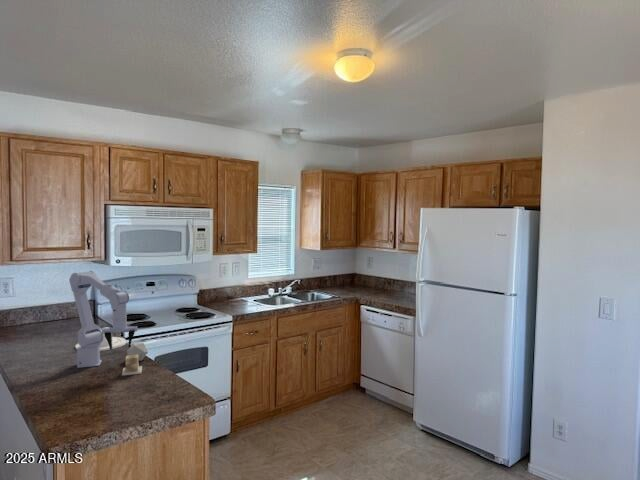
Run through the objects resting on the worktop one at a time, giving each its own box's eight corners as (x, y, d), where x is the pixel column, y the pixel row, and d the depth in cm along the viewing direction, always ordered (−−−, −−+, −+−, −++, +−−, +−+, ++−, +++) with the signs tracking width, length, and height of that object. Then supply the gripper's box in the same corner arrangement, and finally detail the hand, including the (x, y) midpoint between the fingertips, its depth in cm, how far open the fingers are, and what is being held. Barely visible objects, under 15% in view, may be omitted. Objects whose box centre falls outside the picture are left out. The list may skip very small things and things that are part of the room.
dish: (127, 348, 237) (126, 327, 237) (73, 354, 227) (73, 332, 226) (125, 337, 260) (124, 318, 259) (76, 342, 249) (75, 322, 248)
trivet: (121, 375, 196) (121, 373, 196) (123, 369, 204) (123, 367, 204) (141, 373, 199) (141, 371, 199) (142, 367, 206) (142, 365, 206)
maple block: (125, 372, 198) (125, 358, 198) (126, 368, 203) (126, 355, 202) (137, 370, 199) (137, 357, 199) (138, 367, 204) (138, 354, 204)
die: (134, 365, 211) (147, 347, 214) (119, 355, 213) (133, 337, 215) (141, 366, 219) (153, 348, 222) (127, 356, 221) (139, 338, 223)
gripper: (100, 321, 195) (101, 352, 196) (136, 319, 200) (137, 349, 200) (102, 318, 202) (103, 347, 202) (137, 315, 206) (138, 344, 207)
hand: (120, 348), depth 202 cm, fingers open, 7 cm apart
